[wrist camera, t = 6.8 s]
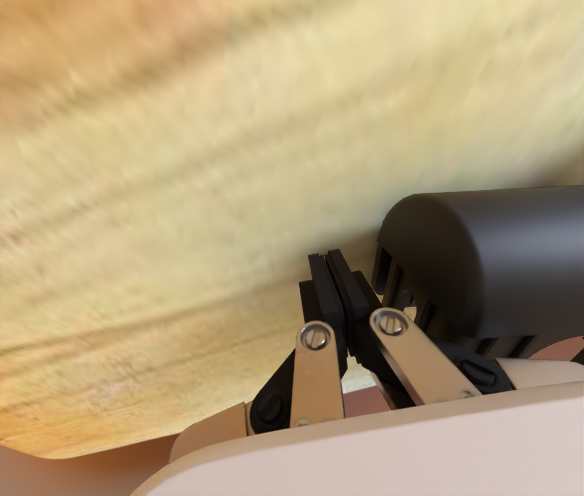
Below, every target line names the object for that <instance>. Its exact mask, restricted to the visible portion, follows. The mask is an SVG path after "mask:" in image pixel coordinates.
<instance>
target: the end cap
mask: <svg viewBox="0 0 584 496" xmlns="http://www.w3.org/2000/svg"><path fill="white" fill-rule="evenodd" d="M377 241H378V242H379V243H378V248H377V254H376V259H375V264H374V270H373V275H372V280H371V285H372V288H373V290H374V291H375V293H376V294H378V295H384V296H383V300H382V306H383V307H384V308H394V309H397V310H399V311H401V312H403V311H404V308H405V307H416V308H417V313H416V317H415V320H414V323H415V324H416V325H417V326H418V327H419V328H420V329H421V330H422V332H424V333H427V334H429V335H432V336H434V337H437V338H439V339H441V340H444V341H446V342H449V343H451V344H454V345H456V346H459V347H461V348H464V349H466V350H469V351H471V352H474V353H476V354H478V355H481V356H483V357H485V358H487V359H489V360H494V358H495V357H500V358H523V359H528V358H529V357H530V356H531V355H533V354H535V353H536V352H538V351H540V350H541V349H543V348H545V347H547V346H549V345H552V344H554V343H557V342H559V341H562V340H565V339H569V338H573V337H577V336H584V185H579V186H559V187H540V188H521V189H501V190H482V191H463V192H444V193H425V194H413V195H410V196H408V197H405V198H403V199H402V200H400V201H399V202H398V203H396V204H395V205H394V206H393V207H392V209H391V210H390V211H389V212H388V214H387V215H386V217H385V219H384V221H383V223H382V226H381V229H380V232H379V236H378V240H377ZM583 339H584V337H583ZM571 362H576V363H578V364H581V365H584V348H583V349H582V350H581V351H580V352H579V353H578V354H577V355H576V356H575V357H574V358H573V359H572V360H571Z"/></svg>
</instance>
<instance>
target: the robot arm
mask: <svg viewBox="0 0 584 496" xmlns="http://www.w3.org/2000/svg"><path fill="white" fill-rule="evenodd" d="M308 258H309V263H310V269H311V274H312V280H308V281H303V282H299V287H300V294H301V301H302V308H303V314H304V321H305V324H304V325H303V326H302V327H301V328H300V329H299V331H298V333H297V337H296V348H295V349H294V350H293V351H292V353H291V354H290V355H289V356H288V358H287V359H286V360H285V361H284V362H283V364H282V365H281V366H280V367H279V368H278V370H277V371H276V372H275V373H274V375H273V376H272V377H271V378H270V379H269V381H268V382H267V383H266V384H265V385H264V387H263V388H262V389H261V390H260V391H259V393H258V394H257V395H256V397H255V398H254V400H253V401H251V402H248V403H246V404H245V403H244V402H242V403H239V404H237V405H235V406H233V407H231V408H228V409H226V410H224V411H222V412H219V413H217V414H215V415H213V416H210V417H208V418H206V419H204V420H202V421H199V422H197V423H195V424H193V425H191V426H189V427H188V428H186V429H185V430H184V431H183V432H182V433H181V434H180V435H179V436H178V438H177V440H176V442H175V443H174V445H173V447H172V450H171V453H170V456H169V462H168V465H167V466H165V467H164V468H162V469H161V470H160V471H158V472H157V473H155V475H153V476H151V477H150V478H149V479H148V480H146V481H145V482H144V483H143V484H142V485H141V486H139V487H138V488H137V489H136V490H135V491H134V492H133V493H132V494H131V495H130V496H584V365H581V364H578V363H576V362H571V361H565V360H547V359H523V358H500V357H495V358H494V360H489V359H487V358H485V357H483V356H481V355H478V354H476V353H474V352H471V351H469V350H466V349H464V348H461V347H459V346H456V345H454V344H451V343H449V342H446V341H444V340H441V339H439V338H437V337H434V336H432V335H429V334H427V333H424V332H422V330H421V329H420V328H419V327H418V326H417V325H416V324H415V323H414V322H413V321H412V320H411V319H410V318H409V317H408V316H407V315H406V314H405V313H403V312H401V311H399V310H397V309H394V308H384V307H383V306H382V304H381V303H380V301H379V299H378V298H377V296H376V294H375V293H374V291H373V290H372V288H371V286H370V285H369V283H368V281H367V280H366V278H365V277H364V275H363V273H362V272H361V271H360V270H359V271H354V272H351V270H350V268H349V266H348V264H347V263H346V261H345V259H344V257H343V255H342V253H341V252H340V250H339V249H336V250H331V251H328V254H325V259H324V256H323V255H320V256H319V254H318V253H316V254H311V255H308ZM325 261H326V262H325ZM347 348H348V350H347ZM348 351H349V354H350V356H351V357H353V356H355V358H356V361H357V364H360V363H361V365H362V366H363V367H364V368H366V369H368V370H369V371H370V372H371V375H372V377H373V379H374V381H375V382H376V384H377V386H378V388H379V390H380V391H381V393H382V395H383V397H384V399H385V400H386V402H387V404H388V406H389V408H390V409H391V411H387V412H381V413H375V414H369V415H363V416H358V417H351V418H345V410H344V400H343V391H342V383H341V379H342V378H343V376H344V374H345V372H346V371H347V369H348V366H347V357H348Z"/></svg>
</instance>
